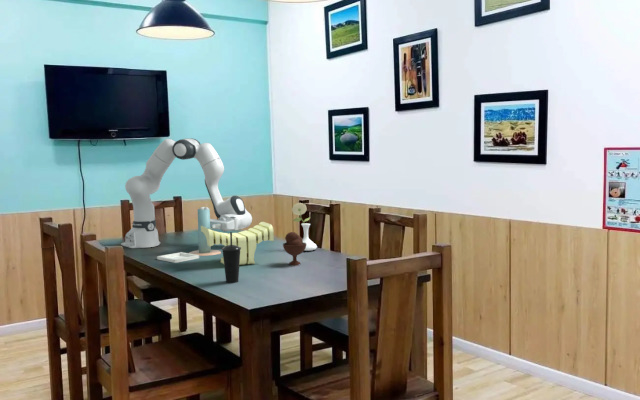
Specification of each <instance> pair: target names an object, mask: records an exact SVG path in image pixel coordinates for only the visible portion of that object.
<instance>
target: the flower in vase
mask: <svg viewBox="0 0 640 400" xmlns="http://www.w3.org/2000/svg"><path fill="white" fill-rule="evenodd" d="M307 210H308V209H307V205H306V203H303V202H302V203H301V202H297V203H295V204H294V205H293V206H292V208H291V211H292V214H293V215H296V216H300V217H296V218H294V219H293V222H297V223H299V222H300V221H302V223H301V224H300V225H301V226H302V228H303V237H302V239H303V243H306V248H305V250H304V251H303V252H308V251H310V252H311V251H314V250H316V249H317V248H318V246H317V244H316V243H314V241H312V240H311V239H310V238H309V228H310V226H311V223H307V222H308V221H309V220H310V219H311V216H309V217H308V218H305V219H304V220H303V218H302V215H304V214H305V213H306V212H307ZM305 222H306V223H305Z"/></svg>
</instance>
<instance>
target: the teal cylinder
mask: <svg viewBox="0 0 640 400" xmlns="http://www.w3.org/2000/svg"><path fill="white" fill-rule="evenodd" d="M210 211H211V210H210V208H209V207H207V206H201V207H199V208H197V232H198V233H197V234H198V238H197V239H198V250H199V253H210V252H211V250H212V248H211V247H212V246H208V245H207V239H206V236H205V234H204V233H203V232H201V226H203V227H205V228H208V229H210V230H211V228H210V219H211V212H210Z"/></svg>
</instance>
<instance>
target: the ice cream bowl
mask: <svg viewBox="0 0 640 400" xmlns="http://www.w3.org/2000/svg"><path fill="white" fill-rule="evenodd" d="M284 240H285V241H286V242H284V243H282V246H283V249H284V252H286V253H287V255H288V254H289V255H290V256H292V260H291V261H290V262H289V263H288V265H289V264H290V266H299V265H298V264H300V265H301V262H300V261H298V260H297V258H298V256H299V255H301V254H302V253H304V252H305V251H304V250H305V248H306V243H303V237H302V236H300V235H299V234H298V233H296V232H294V231H291V232H288V233H287V234H286V235H285V237H284Z"/></svg>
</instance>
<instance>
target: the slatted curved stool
mask: <svg viewBox="0 0 640 400" xmlns="http://www.w3.org/2000/svg"><path fill="white" fill-rule="evenodd" d="M201 232H203V233H204V234H205V236H206V239H207V245H208V246H211V247H212V246H215V245H217V246H218V245H222V246H224V247H225V246H227V245H230V232H229V233H228V232H221V231H216V230H212V229H211V228H210V229H208V228H205V227H203V226H201ZM274 232H275V231H274V227H273V225H272V224H271V223H268V222H265V221H261V222H259V223H258V224H256V225H254V226H252V227H250V228H247V230H246V229H245V230H242V231H238V232H232V245H236V246H238V247H241V249H240V263H239V266H245V265H255V263H256V262H255V253H256V249H257V245H259V244H260V243H262V242H263V241H264V242H266V241H270V242H274V239H275V236H274V235H275V234H274ZM219 263H221V264H223V265H224V259H223V256H222V257H221V258H220V260H219Z"/></svg>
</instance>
